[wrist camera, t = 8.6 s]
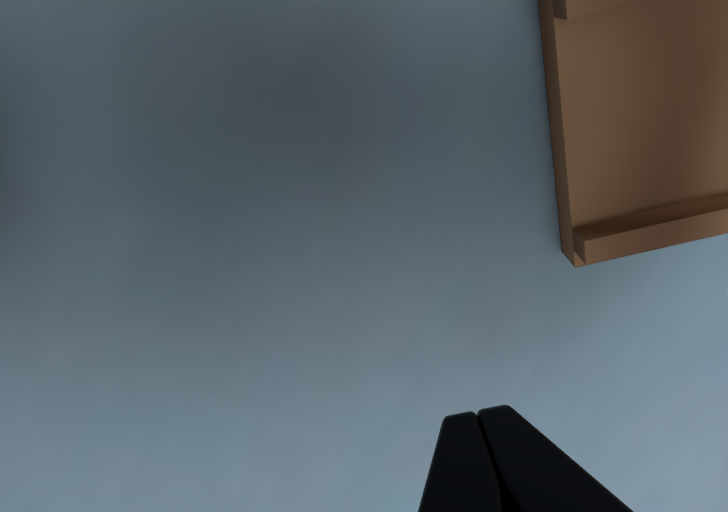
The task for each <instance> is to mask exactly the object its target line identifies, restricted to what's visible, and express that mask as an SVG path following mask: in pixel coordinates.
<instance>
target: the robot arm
mask: <svg viewBox="0 0 728 512" xmlns="http://www.w3.org/2000/svg"><path fill="white" fill-rule="evenodd" d="M418 512H633V511H632V510H631V509H630V508H629V507H627V506H626V505H625V504H624V503H623V502H622V501H620V500H619V499H618V498H617V497H616V496H615V495H613V494H612V493H611V492H610V491H609V490H608V489H606V488H605V487H604V486H603V485H602V484H601V483H599V482H598V481H597V480H596V479H595V478H594V477H592V476H591V475H590V474H589V473H588V472H586V471H585V470H584V469H583V468H582V467H581V466H579V465H578V464H577V463H576V462H575V461H574V460H572V459H571V458H570V457H569V456H568V455H567V454H565V453H564V452H563V451H562V450H561V449H560V448H558V447H557V446H556V445H555V444H554V443H553V442H551V441H550V440H549V439H548V438H547V437H546V436H544V435H543V434H542V433H541V432H540V431H538V430H537V429H536V428H535V427H534V426H533V425H531V424H530V423H529V422H528V421H527V420H526V419H524V418H523V417H522V416H521V415H520V414H519V413H517V412H516V411H515V410H514V409H513V408H512V407H510V406H508V405H500V406H495V407H490V408H485V409H481V410H479V411H478V413H477V415H476V414H475V413H474V412H472V411H469V412H464V413H459V414H454V415H449V416H446V417H445V418H444V420H443V422H442V425H441V429H440V433H439V436H438V440H437V444H436V447H435V451H434V455H433V458H432V462H431V466H430V469H429V473H428V477H427V480H426V484H425V488H424V491H423V495H422V499H421V502H420V506H419V510H418Z"/></svg>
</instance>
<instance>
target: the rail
mask: <svg viewBox="0 0 728 512" xmlns="http://www.w3.org/2000/svg"><path fill="white" fill-rule="evenodd" d="M538 5H539V16H540V26H541V37H542V47H543V58H544V68H545V79H546V89H547V100H548V110H549V121H550V131H551V142H552V152H553V163H554V173H555V184H556V194H557V205H558V216H559V226H560V237H561V247H562V252H563V253H564V255H565V256H566V257H567V258H568V259H569V261H570V262H571V263H572V264H573V266H574V267H580V266H584V265H589V264H593V263H598V262H602V261H606V260H611V259H615V258H620V257H624V256H628V255H633V254H637V253H642V252H646V251H650V250H655V249H659V248H663V247H668V246H672V245H677V244H681V243H685V242H690V241H694V240H699V239H703V238H707V237H712V236H716V235H720V234H725V233H728V0H538Z"/></svg>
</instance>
